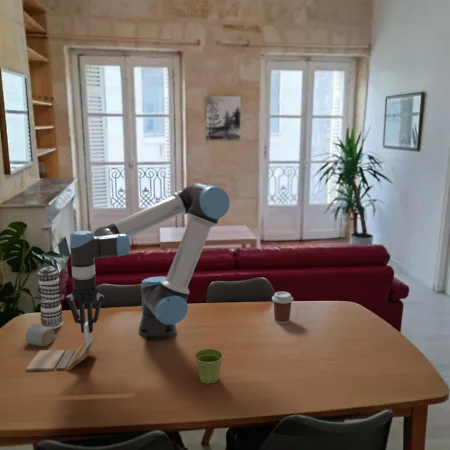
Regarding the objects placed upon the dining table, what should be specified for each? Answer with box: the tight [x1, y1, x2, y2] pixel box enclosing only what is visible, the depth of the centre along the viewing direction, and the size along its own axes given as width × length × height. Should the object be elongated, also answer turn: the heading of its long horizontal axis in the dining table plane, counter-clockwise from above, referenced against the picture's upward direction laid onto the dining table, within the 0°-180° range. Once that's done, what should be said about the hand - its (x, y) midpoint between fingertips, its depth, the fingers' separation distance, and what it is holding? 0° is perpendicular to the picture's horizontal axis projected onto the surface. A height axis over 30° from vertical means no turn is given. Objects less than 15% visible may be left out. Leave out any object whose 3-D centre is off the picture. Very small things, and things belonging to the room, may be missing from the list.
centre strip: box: [55, 349, 76, 371], centre depth 158 cm, size 3×13×2 cm, turn 4°
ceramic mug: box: [25, 323, 57, 347], centre depth 173 cm, size 11×8×8 cm
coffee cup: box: [271, 291, 294, 324], centre depth 194 cm, size 9×9×12 cm
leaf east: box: [25, 349, 66, 372], centre depth 158 cm, size 9×13×1 cm
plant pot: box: [194, 348, 224, 385], centre depth 148 cm, size 9×9×9 cm
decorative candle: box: [37, 266, 64, 330], centre depth 188 cm, size 9×9×25 cm
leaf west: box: [66, 334, 98, 371], centre depth 158 cm, size 9×13×1 cm
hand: (87, 340), depth 157 cm, fingers closed
